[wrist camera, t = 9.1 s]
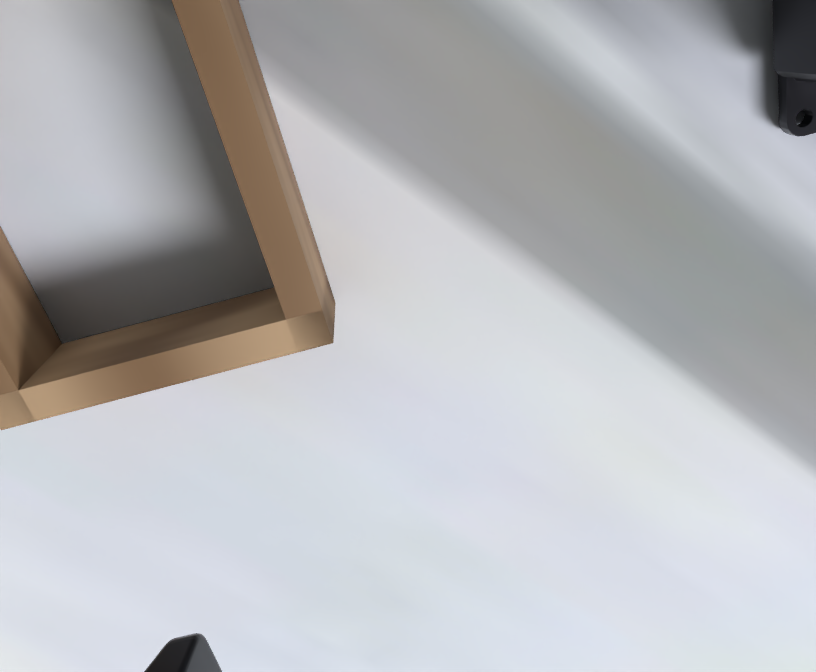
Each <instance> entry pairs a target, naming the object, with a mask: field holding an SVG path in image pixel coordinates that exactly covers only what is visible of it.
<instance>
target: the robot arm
mask: <svg viewBox="0 0 816 672" xmlns="http://www.w3.org/2000/svg"><path fill="white" fill-rule="evenodd" d="M773 42H774V70H775V71H776V72H777V73H778V99H779V125H780V128H781V129H782V130H783V132H785V133H787V134H790V135H795V136H805V135H809V134H813V133H816V0H773ZM801 110H803V111H804V118H803V120H802V121H801V123H800V124H798V125H796V122H795V119H796V116H797V114H798V113H799V112H800V111H801ZM144 672H222V670H221V668H220V666H219V664H218V662H217V660H216V658H215V656H214V654H213V652H212V650H211V648H210V646H209V644H208V642H207V640H206V639H205V637H204V636H203V635H202V634H197V633H196V634H191V635H187V636H182V637H178V638H174V639H172V640H170V641H169V642H168V643H167V644H166V645H165V646H164V647H163V649H162V650H161V651H160V652H159V654H158V655H157V656H156V658H155V659H154V660H153V661H152V663H151V664H150V665H149V666H148V668H147V669H146V670H145V671H144Z"/></svg>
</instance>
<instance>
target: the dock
mask: <svg viewBox="0 0 816 672" xmlns="http://www.w3.org/2000/svg"><path fill="white" fill-rule="evenodd" d="M172 3H173V6H174V9H175V11H176V14H177V17H178V20H179V22H180V25H181V28H182V31H183V34H184V36H185V39H186V42H187V45H188V48H189V50H190V53H191V56H192V59H193V62H194V64H195V67H196V70H197V73H198V75H199V78H200V81H201V84H202V87H203V89H204V92H205V95H206V98H207V101H208V103H209V106H210V109H211V112H212V114H213V117H214V120H215V123H216V126H217V128H218V131H219V134H220V137H221V140H222V142H223V145H224V148H225V151H226V154H227V156H228V159H229V162H230V165H231V167H232V170H233V173H234V176H235V179H236V181H237V184H238V187H239V190H240V193H241V195H242V198H243V201H244V204H245V207H246V209H247V212H248V215H249V218H250V220H251V223H252V226H253V229H254V232H255V234H256V237H257V240H258V243H259V246H260V248H261V251H262V254H263V257H264V260H265V262H266V265H267V268H268V271H269V273H270V276H271V279H272V282H273V285H274V288H270V289H266V290H262V291H259V292H255V293H251V294H247V295H244V296H240V297H236V298H232V299H229V300H225V301H221V302H217V303H213V304H210V305H206V306H202V307H198V308H195V309H191V310H187V311H183V312H180V313H176V314H172V315H168V316H165V317H161V318H157V319H153V320H150V321H146V322H142V323H138V324H135V325H131V326H127V327H123V328H119V329H116V330H112V331H108V332H104V333H101V334H97V335H93V336H89V337H86V338H82V339H78V340H74V341H71V342H67V343H63V344H62V343H61V341H60V339H59V337H58V336H57V334H56V332H55V330H54V328H53V326H52V324H51V322H50V320H49V318H48V316H47V315H46V313H45V311H44V309H43V307H42V305H41V303H40V301H39V299H38V297H37V295H36V294H35V292H34V290H33V288H32V286H31V284H30V282H29V280H28V278H27V276H26V274H25V273H24V271H23V269H22V267H21V265H20V263H19V261H18V259H17V257H16V255H15V254H14V252H13V250H12V248H11V246H10V244H9V242H8V240H7V238H6V236H5V234H4V233H3V231H2V229H1V227H0V429H1V430H4V429H8V428H11V427H15V426H19V425H23V424H27V423H30V422H34V421H38V420H42V419H46V418H49V417H53V416H57V415H61V414H65V413H68V412H72V411H76V410H80V409H84V408H87V407H91V406H95V405H99V404H103V403H107V402H110V401H114V400H118V399H122V398H126V397H129V396H133V395H137V394H141V393H145V392H148V391H152V390H156V389H160V388H164V387H167V386H171V385H175V384H179V383H183V382H186V381H190V380H194V379H198V378H202V377H206V376H209V375H213V374H217V373H221V372H225V371H228V370H232V369H236V368H240V367H244V366H247V365H251V364H255V363H259V362H263V361H266V360H270V359H274V358H278V357H282V356H285V355H289V354H293V353H297V352H301V351H305V350H308V349H312V348H316V347H320V346H324V345H327V344H331V343H333V337H334V318H335V300H334V297H333V294H332V291H331V288H330V285H329V282H328V278H327V275H326V272H325V269H324V266H323V263H322V260H321V257H320V253H319V250H318V247H317V244H316V241H315V238H314V235H313V232H312V228H311V225H310V222H309V219H308V216H307V213H306V210H305V207H304V203H303V200H302V197H301V194H300V191H299V188H298V185H297V182H296V179H295V175H294V172H293V169H292V166H291V163H290V160H289V157H288V154H287V150H286V147H285V144H284V141H283V138H282V135H281V132H280V129H279V125H278V122H277V119H276V116H275V113H274V110H273V107H272V104H271V100H270V97H269V94H268V91H267V88H266V85H265V82H264V79H263V75H262V72H261V69H260V66H259V63H258V60H257V57H256V54H255V51H254V47H253V44H252V41H251V38H250V35H249V32H248V29H247V26H246V22H245V19H244V16H243V13H242V10H241V7H240V4H239V1H238V0H172Z"/></svg>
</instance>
